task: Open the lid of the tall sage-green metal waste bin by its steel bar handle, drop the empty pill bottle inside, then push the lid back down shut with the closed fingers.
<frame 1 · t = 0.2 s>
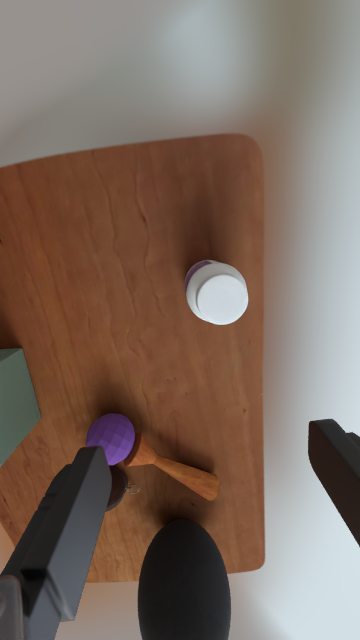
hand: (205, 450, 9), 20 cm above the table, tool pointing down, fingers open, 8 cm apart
compass: (115, 475, 36), on the table
pill bottle: (207, 283, 27), on the table
kendama: (157, 444, 34), on the table
decorative egg: (183, 524, 39), on the table
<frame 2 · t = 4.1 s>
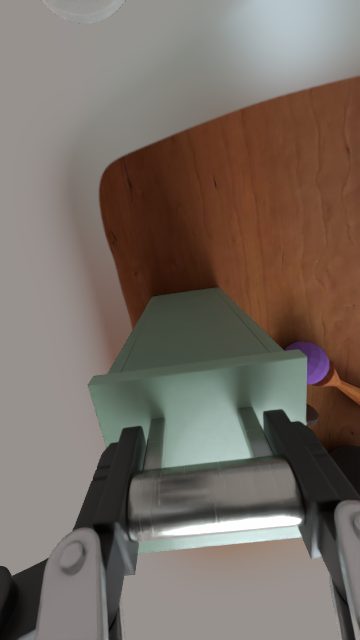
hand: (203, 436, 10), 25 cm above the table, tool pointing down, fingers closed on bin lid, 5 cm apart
bin lid: (214, 509, 10), point 25 cm above the table, hinge at 0.0°, touching gripper
compass: (283, 409, 39), on the table
trash can: (190, 326, 34), on the table
kendama: (327, 374, 37), on the table
decorative egg: (339, 454, 42), on the table
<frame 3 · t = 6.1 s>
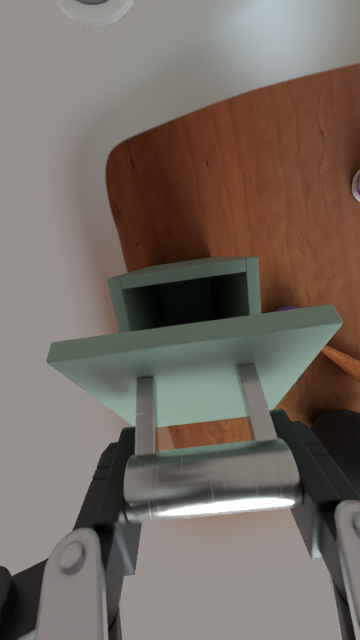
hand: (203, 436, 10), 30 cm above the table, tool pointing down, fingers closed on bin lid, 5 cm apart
bin lid: (204, 436, 11), point 29 cm above the table, hinge at 39.2°, touching gripper
trash can: (185, 294, 38), on the table
kendama: (312, 340, 40), on the table
decorative egg: (327, 421, 44), on the table
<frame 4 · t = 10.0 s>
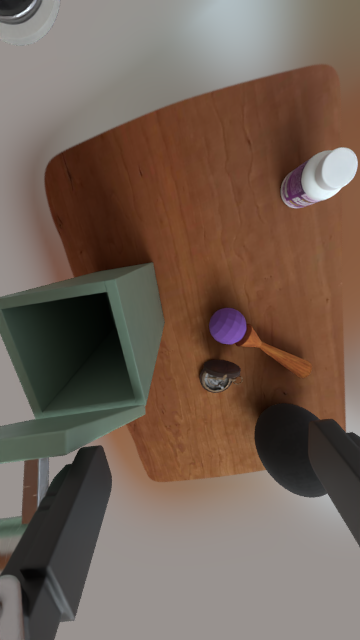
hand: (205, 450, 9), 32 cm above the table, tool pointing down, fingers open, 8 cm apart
bin lid: (41, 472, 13), point 29 cm above the table, hinge at 56.9°
compass: (220, 372, 44), on the table
pill bottle: (296, 190, 35), on the table
trash can: (131, 298, 40), on the table
kendama: (256, 339, 42), on the table
decorative egg: (275, 414, 47), on the table
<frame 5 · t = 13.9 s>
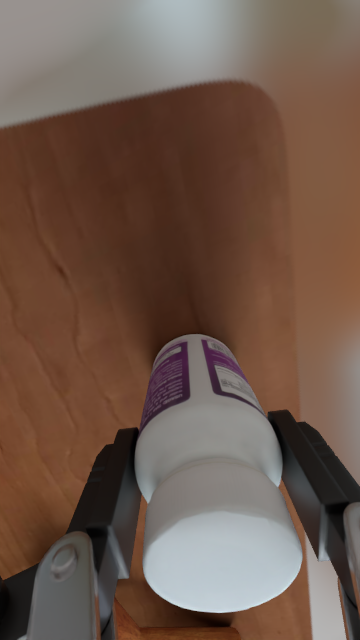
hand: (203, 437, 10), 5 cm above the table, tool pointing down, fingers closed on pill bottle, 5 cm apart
pill bottle: (194, 369, 15), on the table, touching gripper
kendama: (144, 594, 22), on the table
when the fingers open (33 cm above the table, at t = 19.7 s): pill bottle drops 27 cm, resting on trash can.
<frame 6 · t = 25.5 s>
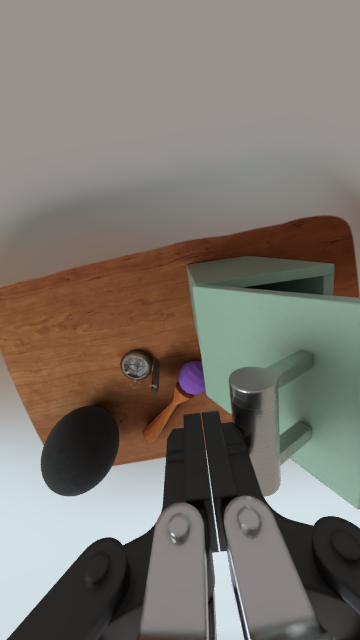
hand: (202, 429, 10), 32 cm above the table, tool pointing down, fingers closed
bin lid: (232, 382, 13), point 29 cm above the table, hinge at 59.3°, touching gripper
compass: (141, 368, 46), on the table
trash can: (219, 288, 41), on the table
kendama: (174, 394, 47), on the table
decorative egg: (97, 416, 49), on the table
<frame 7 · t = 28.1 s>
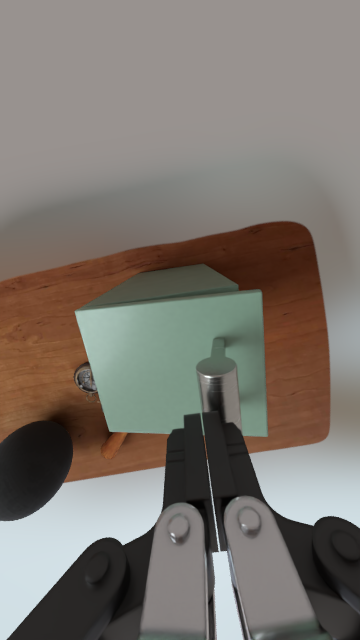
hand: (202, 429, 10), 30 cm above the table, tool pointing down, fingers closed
bin lid: (164, 391, 13), point 27 cm above the table, hinge at 11.0°, touching gripper
compass: (97, 380, 43), on the table
trash can: (175, 297, 38), on the table
kendama: (134, 408, 45), on the table
decorative egg: (54, 430, 47), on the table
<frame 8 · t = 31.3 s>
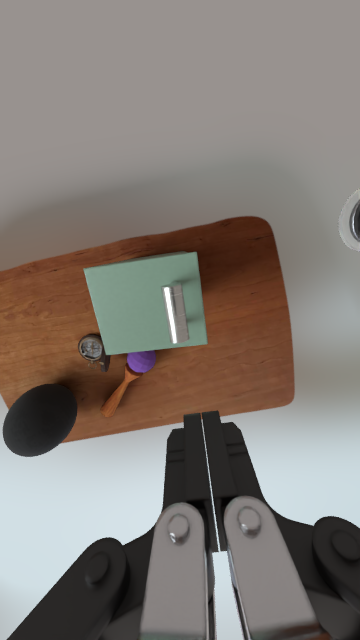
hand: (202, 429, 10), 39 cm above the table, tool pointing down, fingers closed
bin lid: (144, 312, 22), point 26 cm above the table, hinge at 3.4°
compass: (97, 350, 52), on the table
kendama: (129, 375, 53), on the table
decorative egg: (61, 394, 55), on the table
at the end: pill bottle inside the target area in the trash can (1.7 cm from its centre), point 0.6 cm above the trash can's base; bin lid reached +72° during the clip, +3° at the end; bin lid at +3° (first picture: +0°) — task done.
